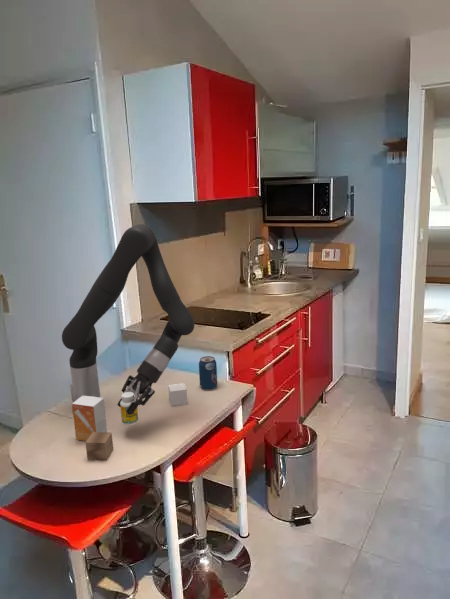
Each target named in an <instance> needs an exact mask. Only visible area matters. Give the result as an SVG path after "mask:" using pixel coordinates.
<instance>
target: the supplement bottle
mask: <svg viewBox="0 0 450 599" xmlns="http://www.w3.org/2000/svg"><path fill="white" fill-rule="evenodd" d="M134 397H135V394H134V393H133V392H125V393H123V392H122V394H121V398H122V401H121V402H120V407H119V408H120V414H121V416H120V417H121V423H122V424H123V425H124V426H131V425H132V426H133V425H135V424H137V423H138V422H139V410H138V407H137V408H136V410H135V411H134V413H133V414H132V415H130V414H128V413H127V412H126V410H127V409H128V407H129V406H130V404H131V403H132V402H133V400H134Z"/></svg>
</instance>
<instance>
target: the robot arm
mask: <svg viewBox="0 0 450 599" xmlns="http://www.w3.org/2000/svg"><path fill="white" fill-rule="evenodd" d="M140 258H142V260H143V262H144V263H145V265H146V268H147V272H148V275H149V279H150V280H149V281H150V284H151V287H152V292H153V293H154V296H155V297H156V299H157V301H158V304H159V306H160V307H161V309H162V310H163V311H164V312H165V313H166V314H167V316H169V320H168V321H167V323H166V325H165V327H164V329H163V331H162V333H161V336H160V337H159V338H158V340H157V342H156V343H155V344H154V346H152V349H151V350H150V351H149V352H148V353H147V355H146V356H145V357H144V359H143V361H142V362H141V363H140V365H139V367H138V368H137V369H136V373H137V375H136V376H135V377H134V376H133V375H128V377H127V378H126V381H125V383H124V385H123V387H122V388H121V392H122V394H123V393H125V392H133V393H134V400H133V402H132V403H131V404H130V406H129V407H128V409H127V410H126V412H127V413H128V414H130V415H132V414H133V413H134V411H135V410H136V408H138V407H139V406H142V407H143V406H145V405H146V404H147V402H149V400H150V399H151V398H152V396H153V395H155V393H156V390H154V389H153V388H152V386H153V384H156V383H157V382H158V381H159V379H160V378H161V376H162V375H163V373H164V372H165V370H166V368H167V367H168V365H169V363H170V361H171V359H172V358H173V357H174V355H175V353H176V352H177V350H178V348H179V344H178V343H179V342H180V339H181V337H182V336H188V335H191V333H193V331H194V329H195V320H194V318H193V316H192V314H191V312H190V310H189V309H188V308H187V306H186V305H185V304H184V302H183V301H182V300H181V297H180V295H179V292H178V291H177V289H176V287H175V284H174V282H173V280H172V278H171V276H170V274H169V272H168V270H167V267H166V264H165V261H164V259H163V256H162V254H161V250H160V247H159V243H158V240H157V236H156V234H155V232H154V230H153V228H151V227H150V226H149V225H148V224H144V223H139V224H135V225H133V226H130V227H129V228H128V229H126V230H125V231H124V232H123V234H122V235H121V238H120V240H119V242H118V244H117V247H116V249H115V250H114V252H113V255H112V256H111V258H110V259H109V261H108V262H107V264H106V265H105V267H104V268H103V270H102V271H101V272H100V273H99V275H98V276H97V278H96V279H95V281H94V283H93V284H92V286H91V288H90V290H89V291H88V293H87V295H86V297H85V299H83V302H82V303H81V305H80V307H79V309H78V310H77V311H76V314H75V315H74V316H73V317H72V319H70V321H69V322H68V323H67V325H65V327H64V329H63V330H62V333H61V340H62V344H63V346H64V347H65V348H67V349H68V350H70V351H71V350H72V353H71V355H70V357H69V360H68V361H69V367H70V368H69V369H70V376H71V384H70V386H69V387H70V394H71V395H70V396H71V402H72V403H73V402H75V401H76V400H77V399H79V398H80V397H81V396H93V397H100V398H101V392H100V390H101V389H100V381H99V380H100V379H99V373H98V363H97V357H98V337H97V330H96V327H95V325H96V324H97V322H98V321H99V320H100V319H101V318H102V317H103V316H104V315H105V314H106V313H107V312H108V311H109V310H110V309H111V308H112V307H113V306H114V304H115V303H116V302H117V301H118V298H120V295H121V294H122V292H123V290H124V288H125V286H126V284H127V281H128V277H129V274H130V272H131V270H132V269H133V267H134V266H135V265H136V263H137V262H138V261H139V259H140ZM121 401H122V397H121V398H120V399H119V401H118V402H117V404H116V405H117V407H119V408H121V407H120V402H121ZM72 403H71V404H72Z"/></svg>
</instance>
